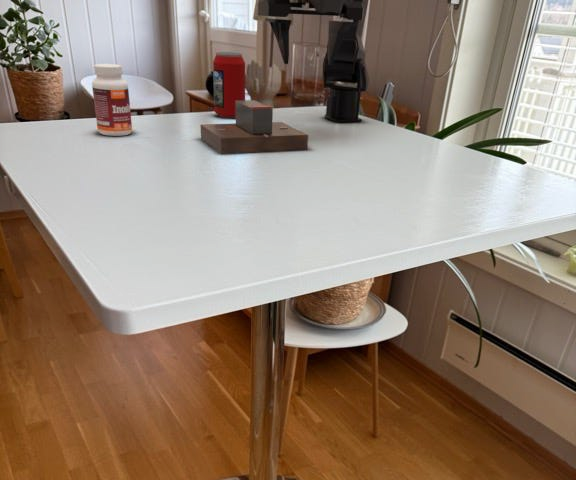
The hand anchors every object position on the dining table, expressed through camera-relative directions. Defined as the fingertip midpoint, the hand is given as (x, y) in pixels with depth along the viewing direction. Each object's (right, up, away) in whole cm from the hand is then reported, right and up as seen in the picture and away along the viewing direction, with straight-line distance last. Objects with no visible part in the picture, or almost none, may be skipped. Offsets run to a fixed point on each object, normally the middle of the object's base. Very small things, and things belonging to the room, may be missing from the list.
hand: (308, 64), depth 106 cm
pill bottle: (-36, -14, -1) cm, 38 cm away
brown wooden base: (-10, -17, -4) cm, 20 cm away
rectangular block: (-10, -15, -6) cm, 19 cm away
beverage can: (-17, -1, +19) cm, 25 cm away
